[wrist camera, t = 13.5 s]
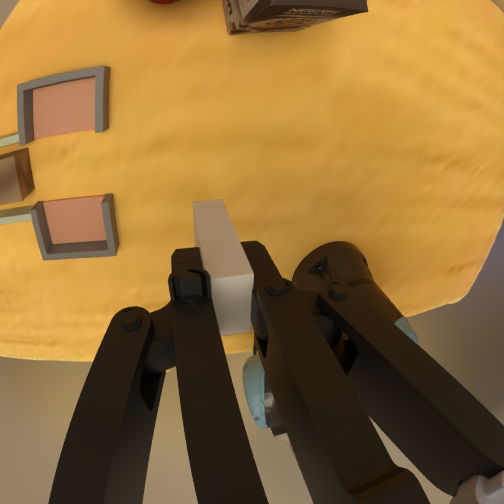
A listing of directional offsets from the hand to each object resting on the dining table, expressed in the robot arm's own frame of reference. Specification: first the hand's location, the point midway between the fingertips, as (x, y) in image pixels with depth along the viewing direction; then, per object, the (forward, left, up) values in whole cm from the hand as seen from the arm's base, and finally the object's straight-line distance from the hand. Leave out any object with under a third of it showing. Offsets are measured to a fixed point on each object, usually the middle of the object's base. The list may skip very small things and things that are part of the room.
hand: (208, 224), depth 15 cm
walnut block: (-2, +25, -24) cm, 35 cm away
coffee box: (+18, -8, -24) cm, 31 cm away
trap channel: (-2, +21, -24) cm, 32 cm away
